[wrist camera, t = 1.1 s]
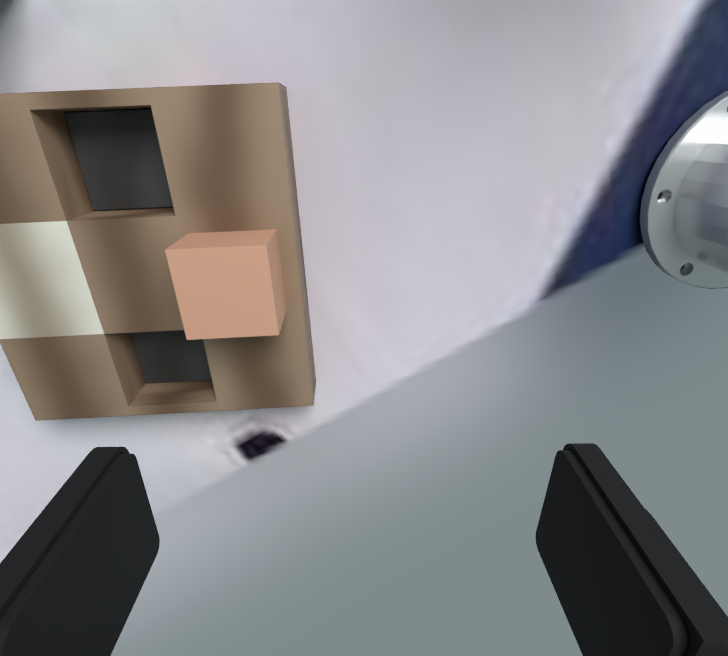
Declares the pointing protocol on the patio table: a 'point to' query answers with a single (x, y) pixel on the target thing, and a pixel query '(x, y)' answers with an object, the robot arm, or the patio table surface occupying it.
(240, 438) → the patio table surface
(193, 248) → the block
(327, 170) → the patio table surface
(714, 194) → the robot arm
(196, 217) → the board
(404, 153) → the patio table surface
